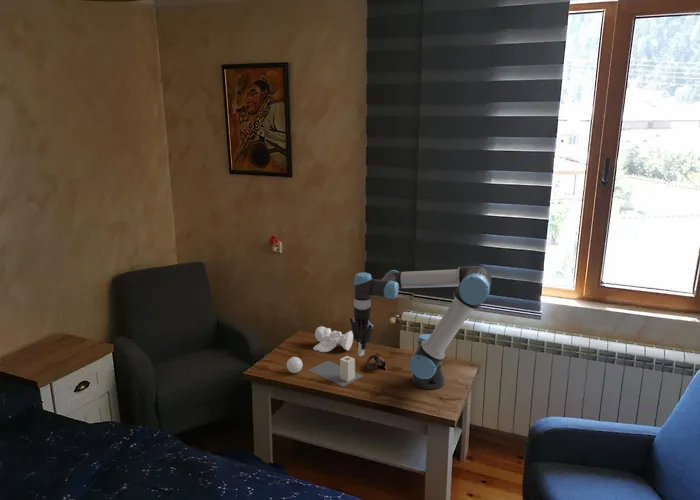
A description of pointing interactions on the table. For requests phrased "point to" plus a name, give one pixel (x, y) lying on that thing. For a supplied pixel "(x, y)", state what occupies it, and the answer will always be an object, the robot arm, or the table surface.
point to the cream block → (347, 368)
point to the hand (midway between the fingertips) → (361, 355)
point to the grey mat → (332, 373)
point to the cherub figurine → (332, 339)
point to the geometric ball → (294, 364)
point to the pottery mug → (378, 360)
